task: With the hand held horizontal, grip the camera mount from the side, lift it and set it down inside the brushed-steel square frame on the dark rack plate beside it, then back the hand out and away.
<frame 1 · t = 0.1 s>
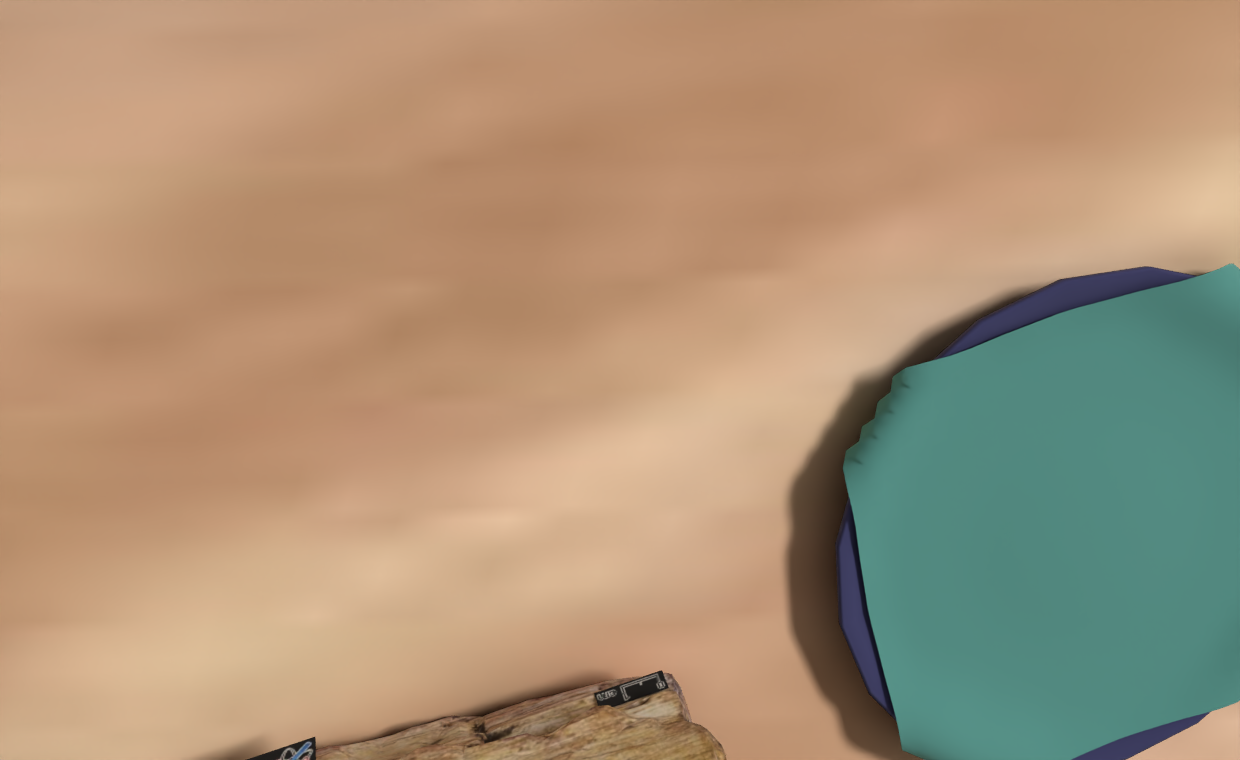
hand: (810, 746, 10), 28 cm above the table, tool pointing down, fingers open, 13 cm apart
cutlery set: (1190, 475, 44), on the table
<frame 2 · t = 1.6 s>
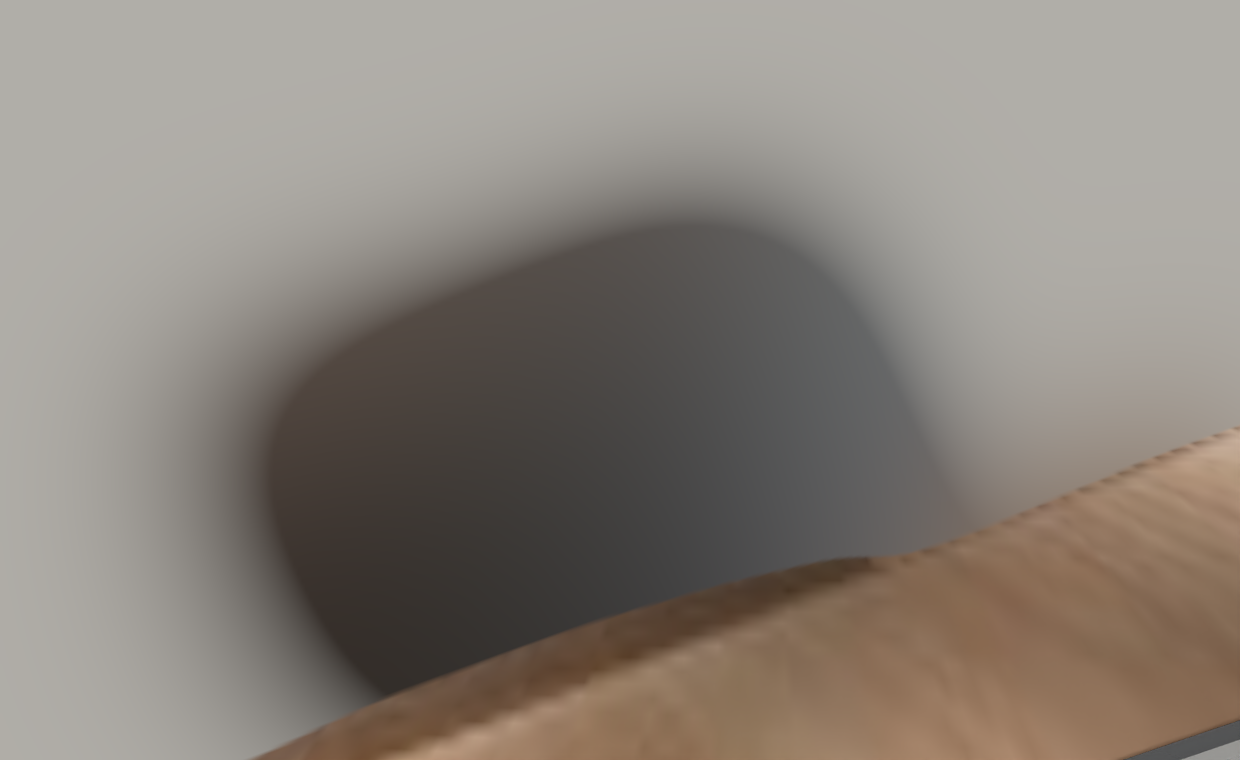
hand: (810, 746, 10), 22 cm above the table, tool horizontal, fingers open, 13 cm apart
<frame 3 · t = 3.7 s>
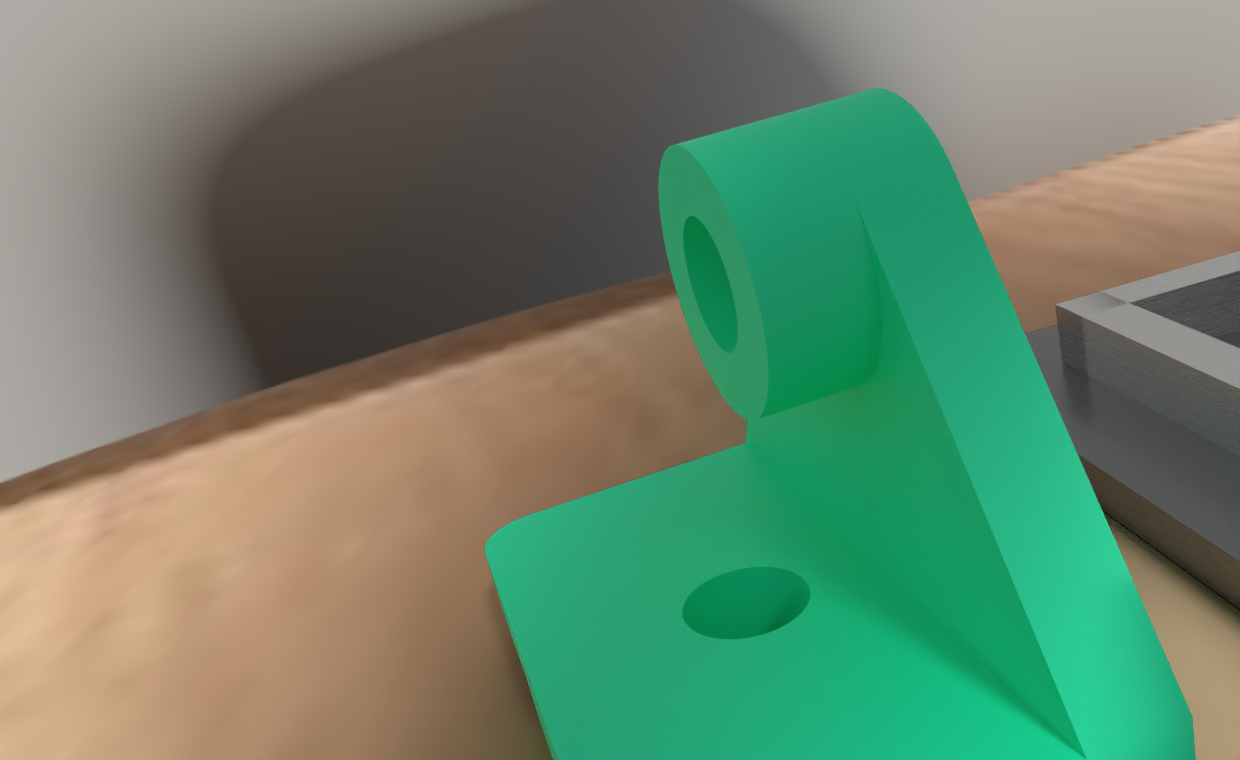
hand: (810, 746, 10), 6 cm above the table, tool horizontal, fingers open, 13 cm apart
camera mount: (776, 737, 21), on the table
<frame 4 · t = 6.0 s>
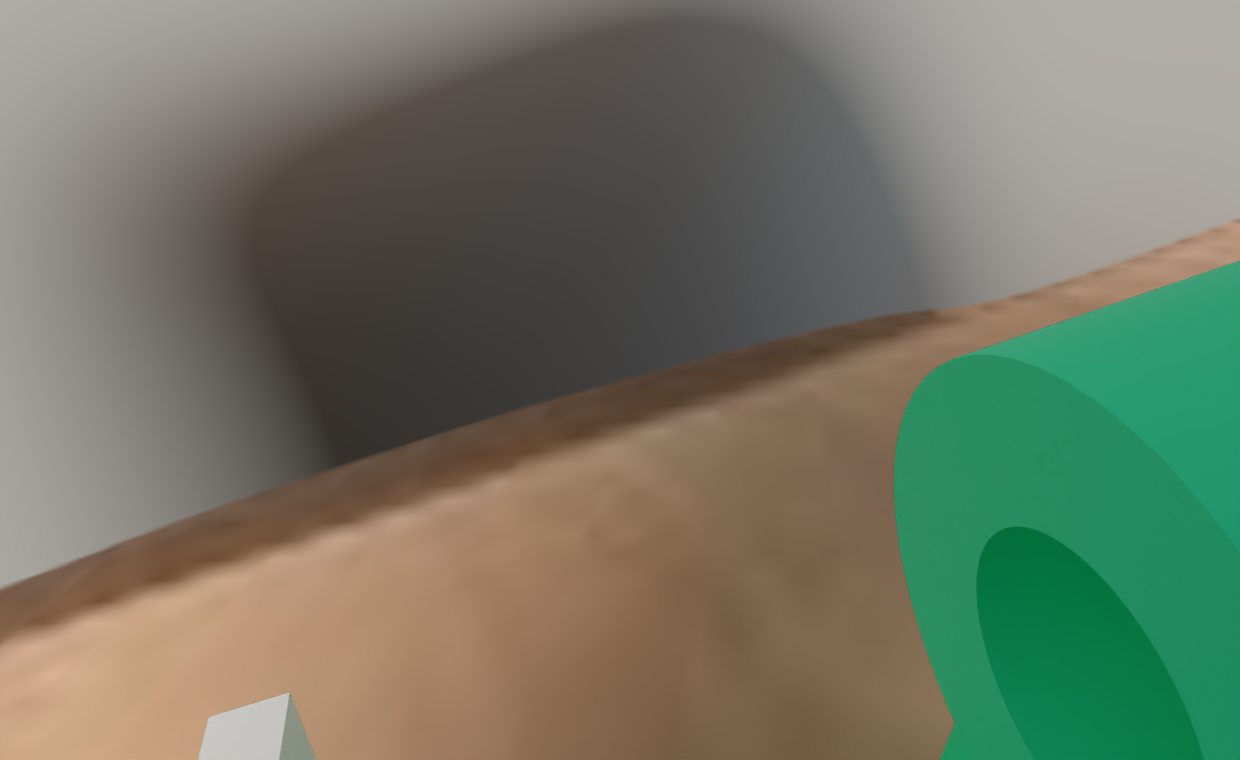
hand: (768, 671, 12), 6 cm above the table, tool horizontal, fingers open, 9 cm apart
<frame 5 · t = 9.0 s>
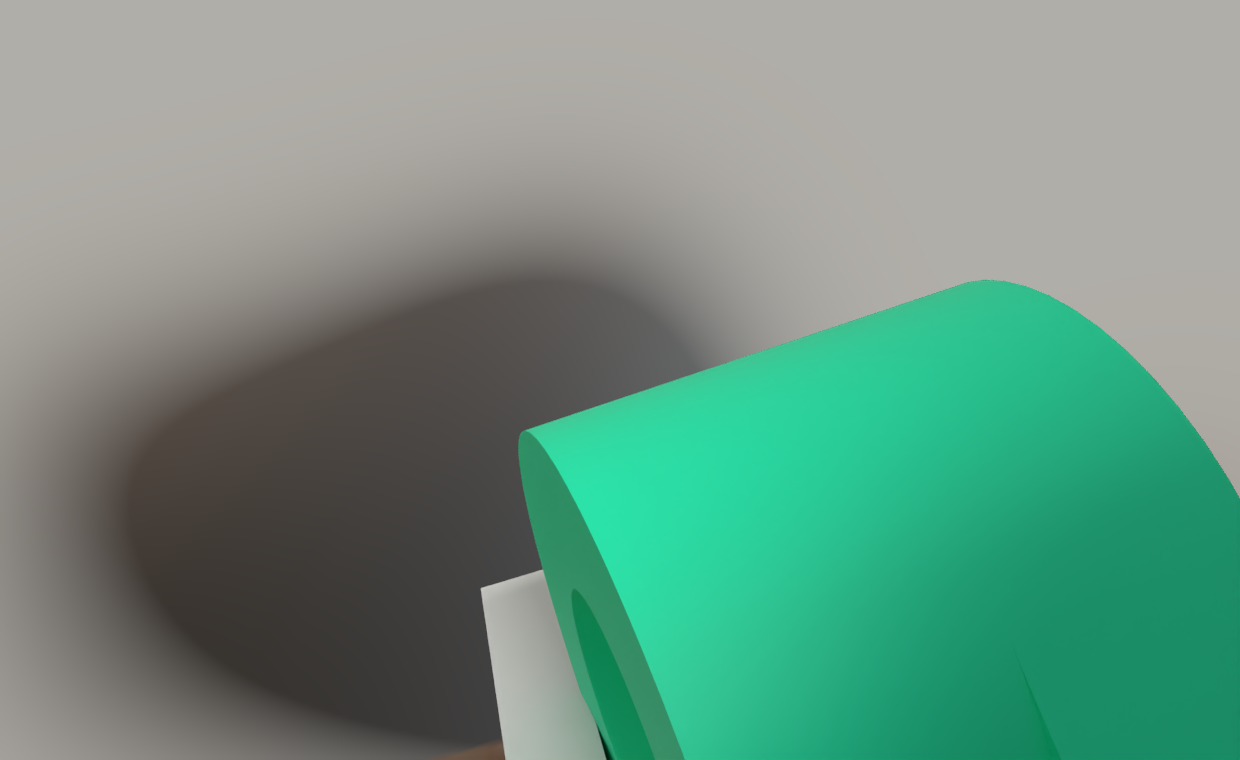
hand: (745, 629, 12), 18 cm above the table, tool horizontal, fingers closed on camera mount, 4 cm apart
when the fingers open (8 cm above the table, at t = 11.5 s): camera mount drops 1 cm, point 1 cm above the table.
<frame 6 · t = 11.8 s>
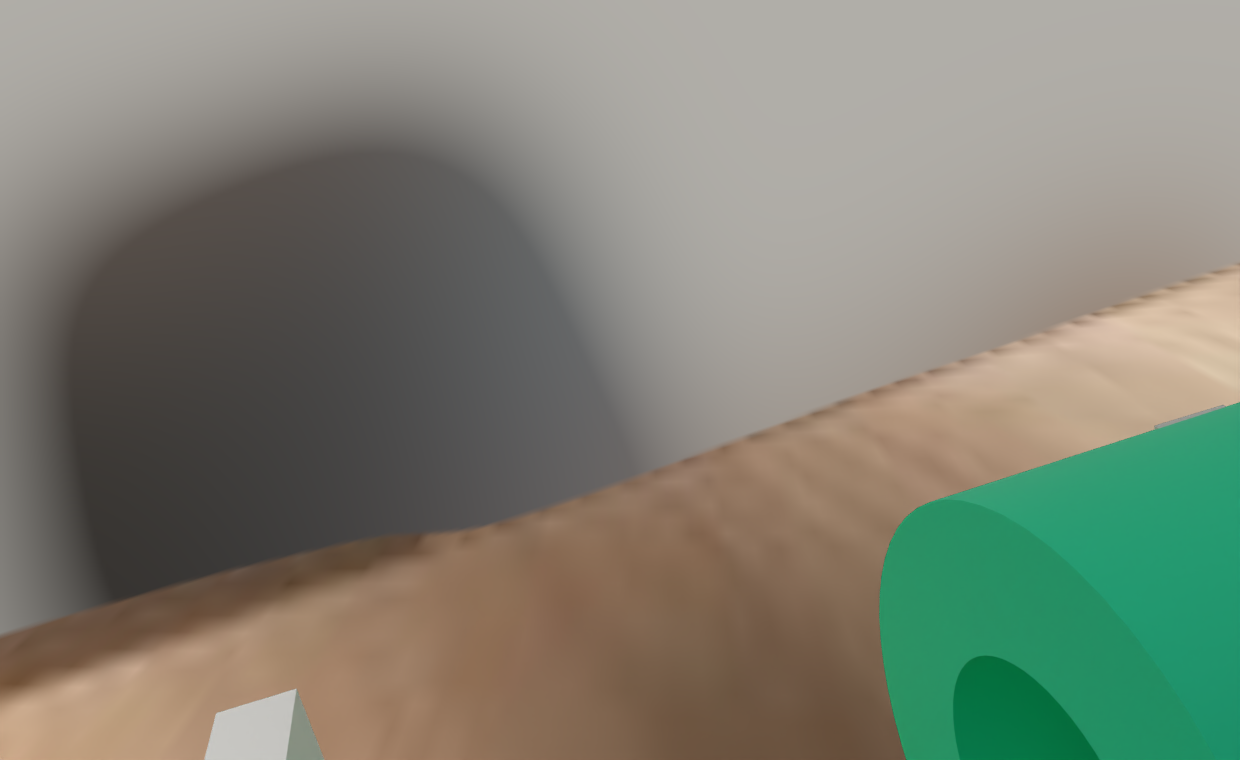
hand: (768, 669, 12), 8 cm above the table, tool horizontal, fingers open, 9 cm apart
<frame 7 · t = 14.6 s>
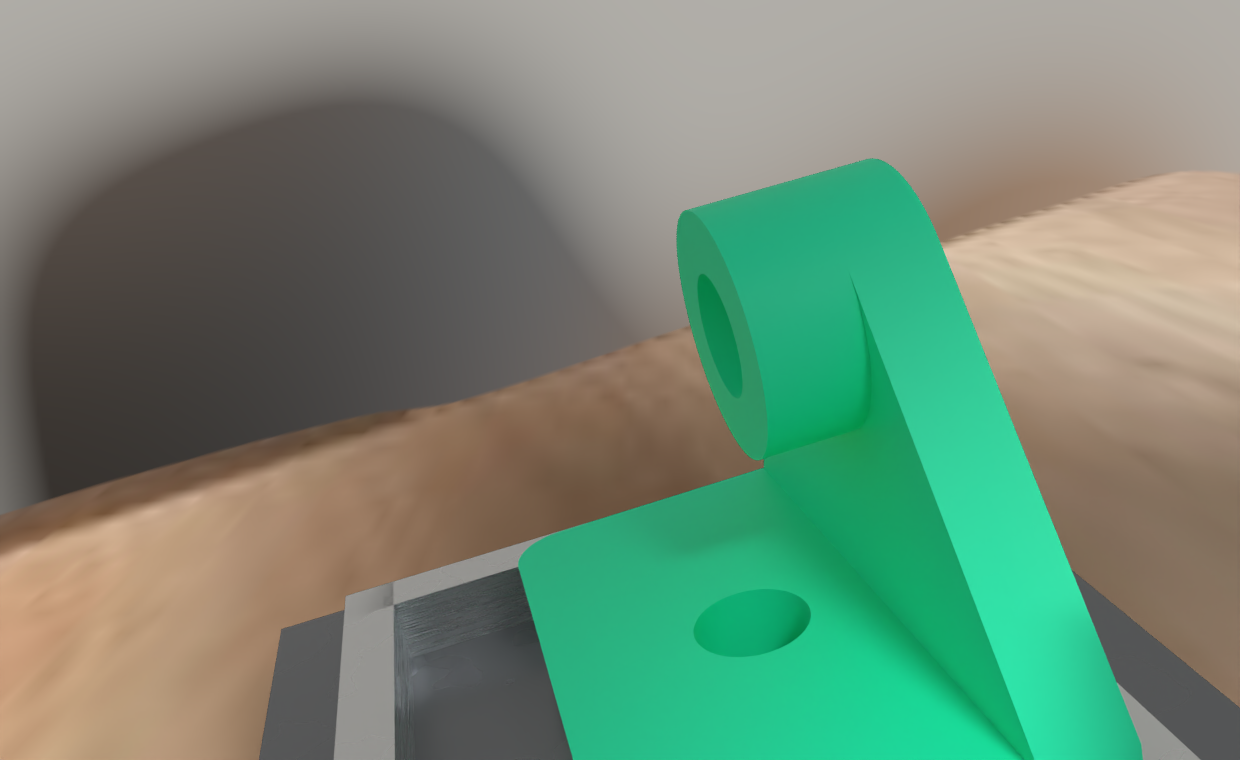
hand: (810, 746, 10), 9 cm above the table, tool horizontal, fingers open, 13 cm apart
camera mount: (780, 745, 22), point 1 cm above the table, touching rack plate
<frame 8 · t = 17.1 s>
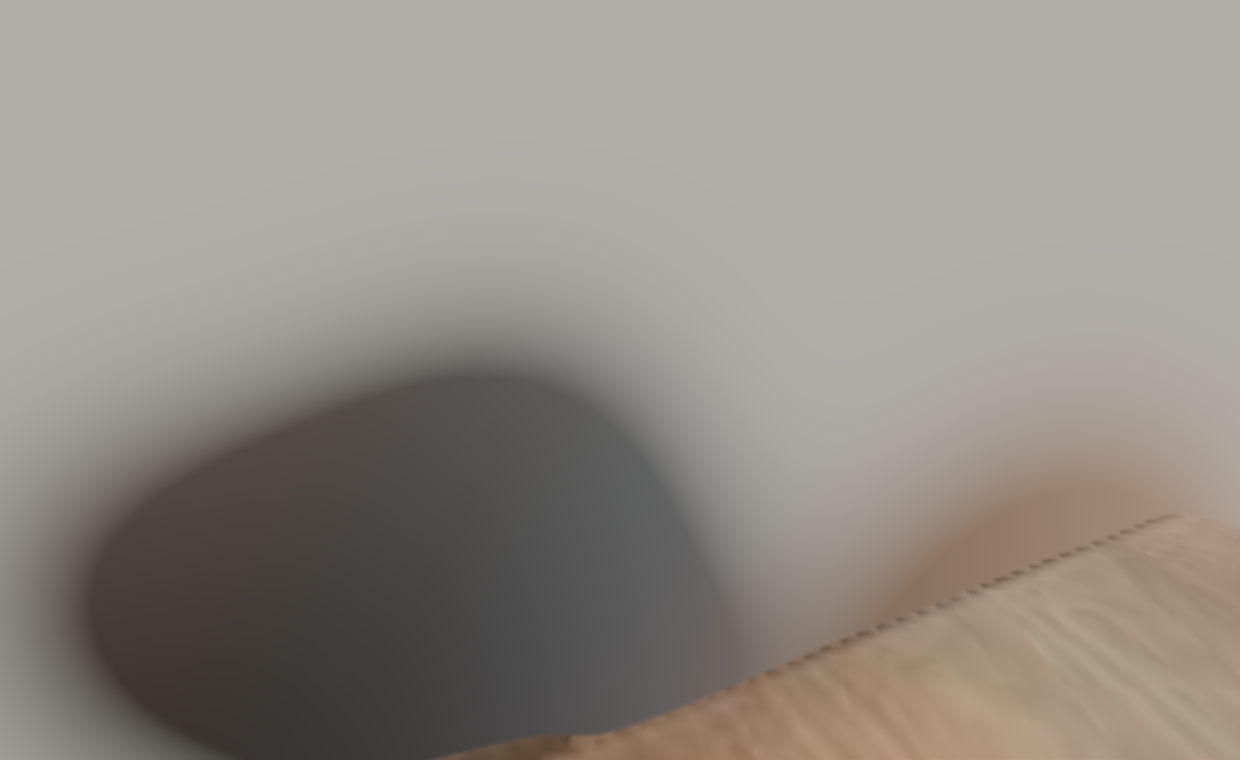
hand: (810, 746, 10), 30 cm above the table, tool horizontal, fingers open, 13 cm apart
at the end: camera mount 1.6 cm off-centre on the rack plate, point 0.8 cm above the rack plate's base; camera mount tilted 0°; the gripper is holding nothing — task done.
